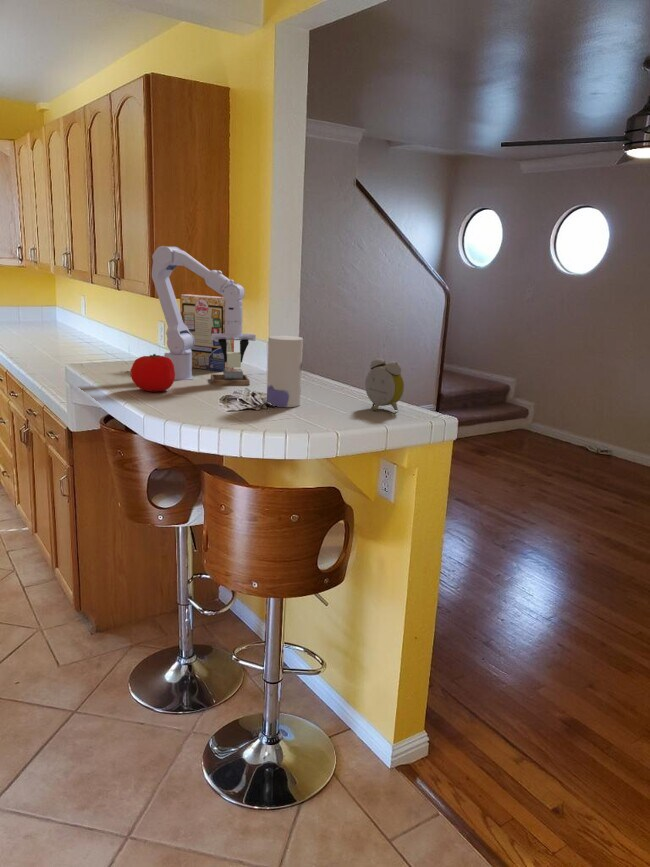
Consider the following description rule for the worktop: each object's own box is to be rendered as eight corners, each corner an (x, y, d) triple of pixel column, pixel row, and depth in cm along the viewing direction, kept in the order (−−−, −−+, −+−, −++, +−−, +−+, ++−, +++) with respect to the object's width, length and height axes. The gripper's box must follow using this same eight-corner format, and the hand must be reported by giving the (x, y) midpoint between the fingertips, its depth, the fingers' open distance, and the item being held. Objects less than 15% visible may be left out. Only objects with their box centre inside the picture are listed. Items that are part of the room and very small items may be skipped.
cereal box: (234, 370, 251) (235, 297, 244) (225, 372, 245) (225, 298, 238) (189, 364, 259) (189, 293, 252) (179, 366, 254) (179, 294, 247)
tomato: (178, 394, 206) (178, 356, 203) (133, 395, 200) (132, 357, 197) (171, 386, 216) (171, 351, 213) (128, 387, 211) (127, 351, 208)
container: (307, 405, 199) (310, 338, 194) (282, 409, 193) (284, 340, 187) (284, 399, 206) (287, 334, 201) (259, 403, 199) (261, 335, 194)
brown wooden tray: (213, 386, 220) (213, 380, 219) (210, 380, 230) (210, 374, 230) (249, 386, 223) (249, 380, 222) (245, 380, 233) (245, 374, 232)
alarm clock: (403, 412, 196) (407, 362, 193) (387, 415, 192) (391, 363, 188) (374, 404, 205) (377, 356, 201) (358, 407, 200) (362, 357, 196)
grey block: (224, 383, 223) (224, 371, 222) (223, 380, 229) (223, 368, 228) (242, 383, 224) (242, 371, 223) (240, 380, 230) (240, 368, 229)
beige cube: (227, 367, 222) (227, 354, 221) (225, 365, 227) (226, 352, 225) (240, 367, 223) (240, 354, 222) (239, 365, 228) (239, 352, 226)
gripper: (212, 321, 216) (212, 363, 219) (257, 322, 219) (256, 363, 223) (210, 319, 222) (210, 360, 226) (254, 320, 226) (253, 360, 229)
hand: (233, 361), depth 225 cm, fingers closed on beige cube, 4 cm apart
